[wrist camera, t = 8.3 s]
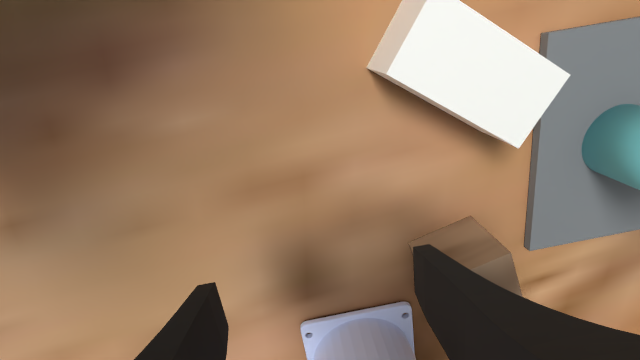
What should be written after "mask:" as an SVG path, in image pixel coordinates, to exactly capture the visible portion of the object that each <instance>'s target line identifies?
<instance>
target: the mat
mask: <svg viewBox="0 0 640 360" xmlns="http://www.w3.org/2000/svg"><path fill="white" fill-rule="evenodd" d="M539 54H540V55H542V56H543V57H545V58H546V59H548V60H549V61H551V62H552V63H554V64H555V65H557V66H558V67H560V68H561V69H563V70H564V71H566V72H567V73H569V74H570V76H569V78H568V79H567V81H566V82H565V84H564V85H563V86H562V88H561V89H560V91H559V92H558V93H557V95H556V96H555V98H554V99H553V101H552V102H551V103H550V105H549V106H548V108H547V109H546V110H545V112H544V113H543V115H542V116H541V118H540V119H539V120H538V122H537V123H536V125H535V126H534V128H533V141H532V153H531V166H530V178H529V191H528V203H527V215H526V228H525V240H524V247H525V248H527V249H528V250H529V251H532V250H537V249H542V248H547V247H552V246H557V245H562V244H568V243H573V242H578V241H583V240H588V239H593V238H598V237H603V236H608V235H613V234H618V233H623V232H628V231H633V230H638V229H640V190H638V189H636V188H633V187H631V186H628V185H626V184H624V183H621V182H619V181H617V180H614V179H612V178H609V177H607V176H605V175H602V174H600V173H597V172H595V171H593V170H591V169H590V168H589V167H588V166H587V165H586V164H585V162H584V160H583V157H582V142H583V139H584V136H585V134H586V132H587V130H588V128H589V127H590V125H591V124H592V123H593V122H594V120H595V119H596V118H597V117H598V116H600V115H601V114H602V113H603V112H605V111H606V110H608V109H610V108H612V107H614V106H617V105H621V104H634V105H640V17H634V18H628V19H622V20H616V21H610V22H604V23H598V24H593V25H587V26H581V27H575V28H569V29H563V30H557V31H551V32H545V33H541V41H540V53H539Z"/></svg>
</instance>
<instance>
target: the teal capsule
mask: <svg viewBox="0 0 640 360" xmlns="http://www.w3.org/2000/svg"><path fill="white" fill-rule="evenodd" d="M582 157H583V160H584V162H585V164H586V165H587V166H588V167H589V168H590V169H591V170H593V171H595V172H597V173H600V174H602V175H605V176H607V177H609V178H612V179H614V180H617V181H619V182H621V183H624V184H626V185H628V186H631V187H633V188H636V189H638V190H640V105H634V104H621V105H617V106H614V107H612V108H610V109H608V110H606V111H605V112H603V113H602V114H601V115H600V116H598V117H597V118H596V119H595V120H594V122H593V123H592V124H591V125H590V127H589V128H588V130H587V132H586V134H585V136H584V139H583V142H582Z"/></svg>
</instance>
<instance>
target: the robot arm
mask: <svg viewBox="0 0 640 360" xmlns="http://www.w3.org/2000/svg"><path fill="white" fill-rule="evenodd" d="M413 261H414V286H415V294H416V296H417V299H418V301H419V304H420V306H421V308H422V311H423V313H424V315H425V317H426V319H427V321H428V323H429V325H430V326H431V328H432V330H433V332H434V333H435V335H436V337H437V339H438V340H439V342H440V344H441V346H442V347H443V349H444V351H445V352H446V354H447V356H448V358H449V359H450V360H640V335H637V334H633V333H629V332H625V331H620V330H616V329H612V328H609V327H605V326H602V325H598V324H595V323H592V322H588V321H585V320H582V319H579V318H576V317H573V316H570V315H567V314H564V313H561V312H558V311H556V310H553V309H550V308H548V307H545V306H542V305H540V304H537V303H535V302H533V301H530V300H528V299H526V298H524V297H521V296H519V295H517V294H515V293H512V292H510V291H508V290H506V289H504V288H502V287H500V286H498V285H497V284H495V283H493V282H491V281H489V280H487V279H485V278H484V277H482V276H480V275H478V274H477V273H475V272H473V271H471V270H470V269H468V268H467V267H465V266H463V265H462V264H460V263H458V262H457V261H455V260H454V259H452V258H451V257H449V256H447V255H446V254H444V253H443V252H441V251H440V250H438V249H437V248H435V247H433V246H432V245H430V244H426V245H421V246H415V247H413ZM404 313H406V314H404ZM403 314H404V315H403ZM300 328H301V334H302V339H303V343H304V347H305V352H306V356H307V360H416V358H415V351H414V336H413V321H412V308H411V306H410V304H409V303H408V302H406V301H404V302H398V303H393V304H388V305H383V306H378V307H373V308H368V309H363V310H358V311H353V312H348V313H343V314H338V315H333V316H328V317H323V318H318V319H313V320H308V321H305V322H303V323H302V324H301V327H300ZM306 333H310V334H306ZM227 342H228V323H227V320H226V317H225V313H224V310H223V307H222V304H221V300H220V297H219V294H218V290H217V287H216V284H215V282H214V283H208V284H203V285H198V286H197V287H196V288H195V289H194V291H193V292H192V293H191V294H190V295H189V297H188V298H187V299H186V300H185V302H184V303H183V304H182V305H181V307H180V308H179V309H178V310H177V312H176V313H175V314H174V315H173V317H172V318H171V319H170V320H169V321H168V323H167V324H166V325H165V326H164V327H163V329H162V330H161V331H160V332H159V333H158V334H157V335H156V336H155V337H154V339H153V340H152V341H151V342H150V343H149V344H148V345H147V346H146V347H145V348H144V350H143V351H142V352H141V353H140V354H139V355H138V356H137V357H136V358H135V359H134V360H226V354H227Z"/></svg>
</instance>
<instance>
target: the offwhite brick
mask: <svg viewBox="0 0 640 360" xmlns="http://www.w3.org/2000/svg"><path fill="white" fill-rule="evenodd" d="M367 68H368V69H369V70H371V71H373V72H375V73H377V74H378V75H380V76H382V77H384V78H386V79H387V80H389V81H391V82H393V83H394V84H396V85H398V86H400V87H402V88H403V89H405V90H407V91H409V92H411V93H412V94H414V95H416V96H418V97H420V98H421V99H423V100H425V101H427V102H429V103H430V104H432V105H434V106H436V107H438V108H439V109H441V110H443V111H445V112H447V113H448V114H450V115H452V116H454V117H455V118H457V119H459V120H461V121H463V122H464V123H466V124H468V125H470V126H472V127H473V128H475V129H477V130H479V131H481V132H483V133H485V134H488V135H490V136H492V137H494V138H496V139H499V140H501V141H503V142H505V143H508V144H510V145H512V146H514V147H516V148H519V147H520V146H521V144H522V143H523V142H524V140H525V139H526V137H527V136H528V135H529V133H530V132H531V130H532V129H533V127H534V126H535V125H536V123H537V122H538V120H539V119H540V118H541V116H542V115H543V113H544V112H545V110H546V109H547V108H548V106H549V105H550V103H551V102H552V101H553V99H554V98H555V96H556V95H557V93H558V92H559V91H560V89H561V88H562V86H563V85H564V84H565V82H566V81H567V79H568V78H569V76H570V74H569V73H567V72H566V71H564V70H563V69H561V68H560V67H558V66H557V65H555V64H554V63H552V62H551V61H549V60H548V59H546V58H545V57H543V56H542V55H540V54H539V53H537V52H536V51H534V50H533V49H531V48H530V47H528V46H527V45H525V44H524V43H522V42H521V41H519V40H518V39H516V38H515V37H513V36H512V35H510V34H509V33H507V32H506V31H504V30H503V29H501V28H500V27H498V26H497V25H495V24H494V23H492V22H491V21H489V20H488V19H486V18H485V17H483V16H482V15H480V14H479V13H477V12H476V11H474V10H473V9H471V8H470V7H468V6H467V5H465V4H464V3H462V2H461V1H459V0H402V2H401V3H400V5H399V7H398V9H397V11H396V13H395V15H394V17H393V19H392V20H391V22H390V24H389V26H388V28H387V30H386V32H385V34H384V36H383V38H382V39H381V41H380V43H379V45H378V47H377V49H376V51H375V53H374V55H373V56H372V58H371V60H370V62H369V64H368V66H367Z"/></svg>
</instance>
